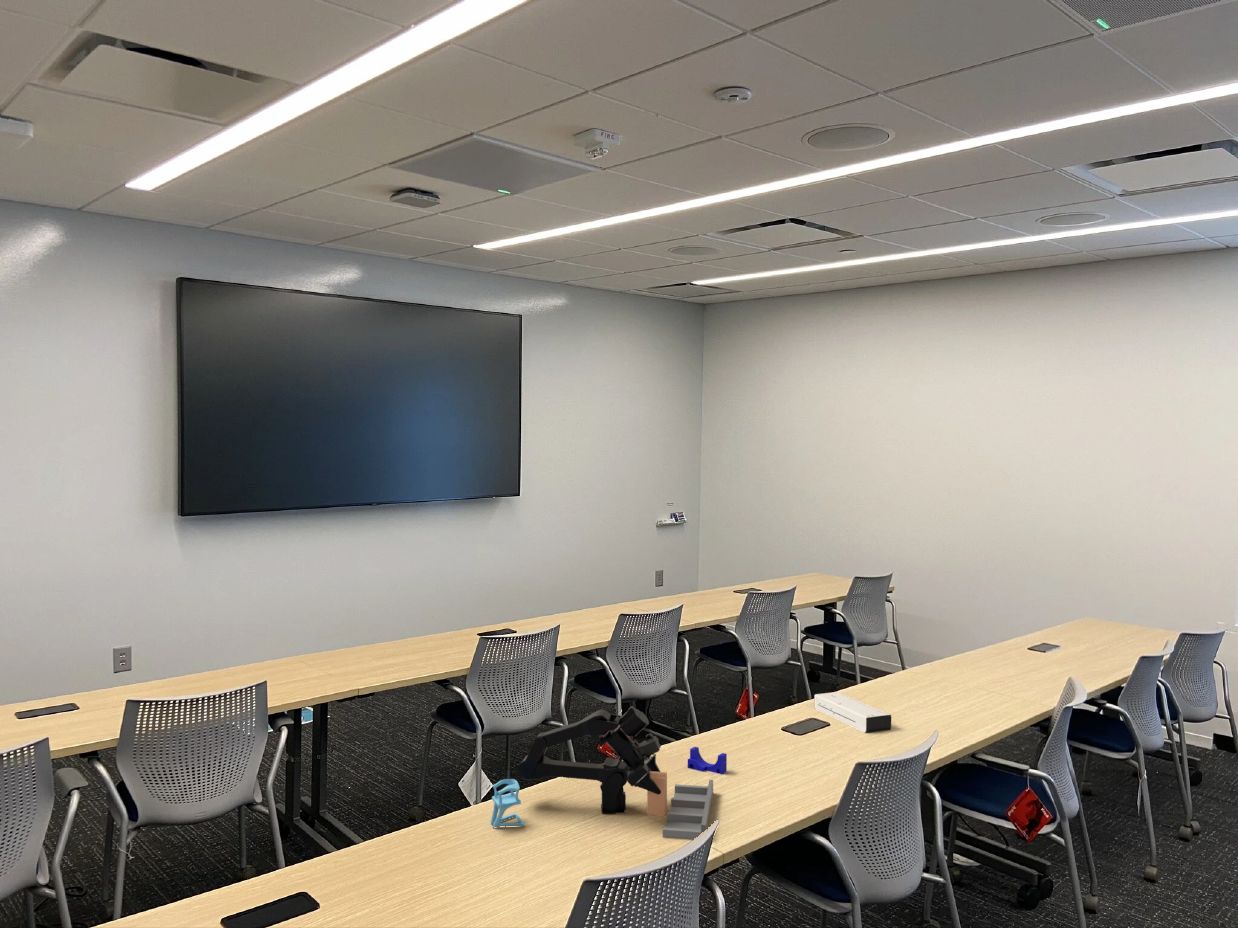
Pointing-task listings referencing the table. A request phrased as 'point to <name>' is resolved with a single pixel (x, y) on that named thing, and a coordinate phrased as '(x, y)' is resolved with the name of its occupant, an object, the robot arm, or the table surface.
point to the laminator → (852, 712)
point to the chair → (505, 803)
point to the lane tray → (689, 811)
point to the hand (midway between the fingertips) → (662, 787)
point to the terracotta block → (655, 801)
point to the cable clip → (701, 765)
